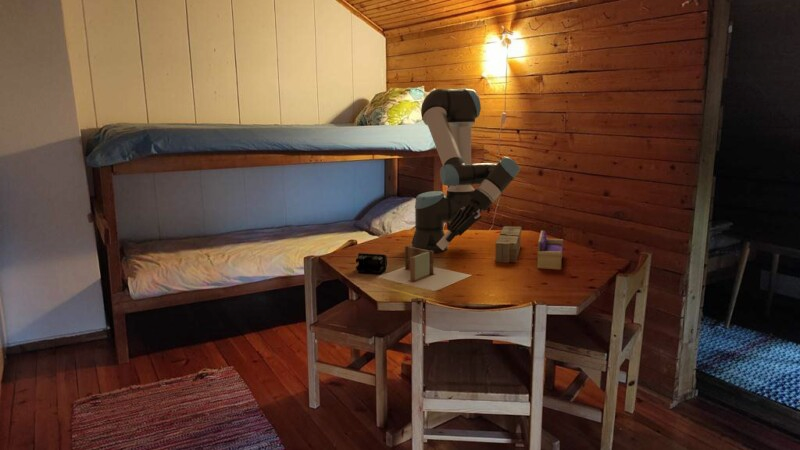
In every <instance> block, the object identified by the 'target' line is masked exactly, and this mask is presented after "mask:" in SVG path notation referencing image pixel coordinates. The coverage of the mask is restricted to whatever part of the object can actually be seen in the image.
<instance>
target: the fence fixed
mask: <svg viewBox="0 0 800 450" xmlns="http://www.w3.org/2000/svg"><path fill="white" fill-rule="evenodd" d="M425 252H430V274H429V275H433V267H434V253H433V251H432V250H429V251H428V250H424V249H419V248H414V247H411V245H410V246H409V245H407V246H406V245H405V247H404V254H405V255H404V261H405V265H404V267H405V269H406V270H410V257H414V256H416V255H419V254H422V253H425Z"/></svg>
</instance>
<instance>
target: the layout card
mask: <svg viewBox="0 0 800 450" xmlns="http://www.w3.org/2000/svg"><path fill="white" fill-rule="evenodd" d="M471 276H472V274H467V273H465V272H459V271H455V270H454V271H453V270H451V269H450V270H449V269H446V268H440V267H436V266H433V275H427V276H424V277H422V278H419V279H417V280H415V281H410V270H406V269H405V266H404V267H400V268H398V269H395V270H392V271H390V272H387V273H384V274H383V273H382V274H381V275H377V278H379V279H383V280H387V281H391V282H395V283H398V284H403V285H406V286H407V285H408V286H411V287H415V288H420V289H423V290H427V291H431V292H436V291H439V290H441V289H443V288H445V287H448V286H450V285H452V284H455V283H457V282H460V281H462V280H464V279H467V278H469V277H471Z"/></svg>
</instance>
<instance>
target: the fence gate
mask: <svg viewBox="0 0 800 450" xmlns="http://www.w3.org/2000/svg"><path fill="white" fill-rule="evenodd" d="M429 274H430V252H425V253H422V254H419V255H416V256H414V257H410V281H415V280H417V279H419V278H422V277H424V276H427V275H429Z"/></svg>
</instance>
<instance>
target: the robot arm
mask: <svg viewBox="0 0 800 450" xmlns="http://www.w3.org/2000/svg"><path fill="white" fill-rule="evenodd" d="M481 108H482V107H481V99H480V97H479V94H478V93H477V92H476V90H475V89H472V88H438V89H434V90H432V91H430V92H429V93H428V94H427V95H426V96H425V98H424V99H423V102H422V104H421V107H420V114H421V119H422V121H423V123H424V125H425V126H427V127H428V130H429V132H430V135H431V138H432V140H433V143H434V145H435V149H436V151H437V154H438V156H439V158H440V162H441V164H442V166H441V167H440V169H439V177H440V182H441V184H442V185H443V186H446V187H447V186H448V188H447V189H446V194H445V193H444V192H443V191H440V190H437V191H435V190H434V191H433V190H432V191H427V192H422V193H419V194H418V195H417V196H416V198H415V204H414V210H415V212H414V214H415V216H414V217H415V219H414V220H415V221H414V222H415V231H414V234H413V237H412V240H411V243H410V247H414V248H419V249H424V250H428V251H429V250H432V251H433V254H435V253H440V252H441V253H442V252H444V251H446V250H448V249H449V247H448V246H449V244H450V243H451V242H452V241H453V239H454V238H455V237H458V236H462V235H463V234H464V233H465V232H466V231H468V230H469V228H471V227H472V226H473V225H474V224H475V223H476V222H478V221H479V220H480V219H482V218H483V217H482V215H481V213H482V211H483V212H484V211H485V212H486V211H487V210H488V209H489V208H490V206H492V205H493V204H492V203H494V202H495V201H496V200H497V199H498V198H499V196H500V194H502V193H503V191H504V190H506V188H507V187H508V186H509V185H510V184H511V182H512V181H513V180H514V179H516V176H517V175H518V174H519V173H520V172H521V171H520V170H521V168H520V166H519V165H518V163H517V162H516V161H515V160H514V159H512V158H511V157H508V156H503V157H502V158H501V159H500V160H499V161H498V162H497V163H494V162H493V163H492V162H489V161H488V162H482V163H472V128H473V125H475V123H476V119H477V118H479V117H480V115H481V112H482V111H481ZM472 185H473V186H474V185H477V187H476V189H475V188H474V187H473V186H472ZM445 223H448V225H447V231H446V233H445V231H444V229H445V228H444V224H445Z"/></svg>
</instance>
